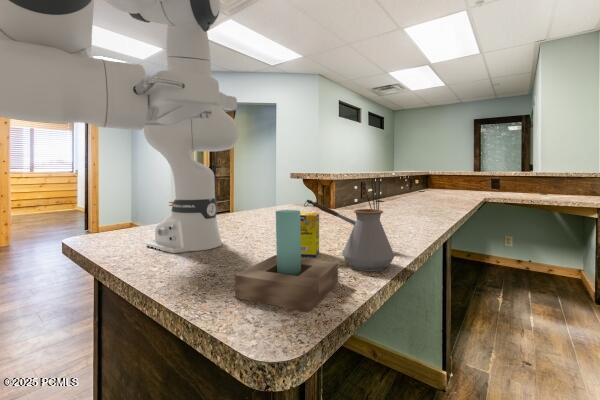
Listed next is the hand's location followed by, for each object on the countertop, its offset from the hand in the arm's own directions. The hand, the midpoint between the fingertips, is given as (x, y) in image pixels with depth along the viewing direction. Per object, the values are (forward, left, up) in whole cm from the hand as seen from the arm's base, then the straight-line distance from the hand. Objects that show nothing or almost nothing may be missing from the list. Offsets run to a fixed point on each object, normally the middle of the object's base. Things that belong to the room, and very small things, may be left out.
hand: (221, 109), depth 51 cm
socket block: (+9, +7, -32) cm, 34 cm away
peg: (+9, +7, -30) cm, 32 cm away
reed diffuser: (+17, +43, -32) cm, 56 cm away
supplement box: (+2, +31, -32) cm, 45 cm away
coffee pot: (+14, +27, -32) cm, 44 cm away
